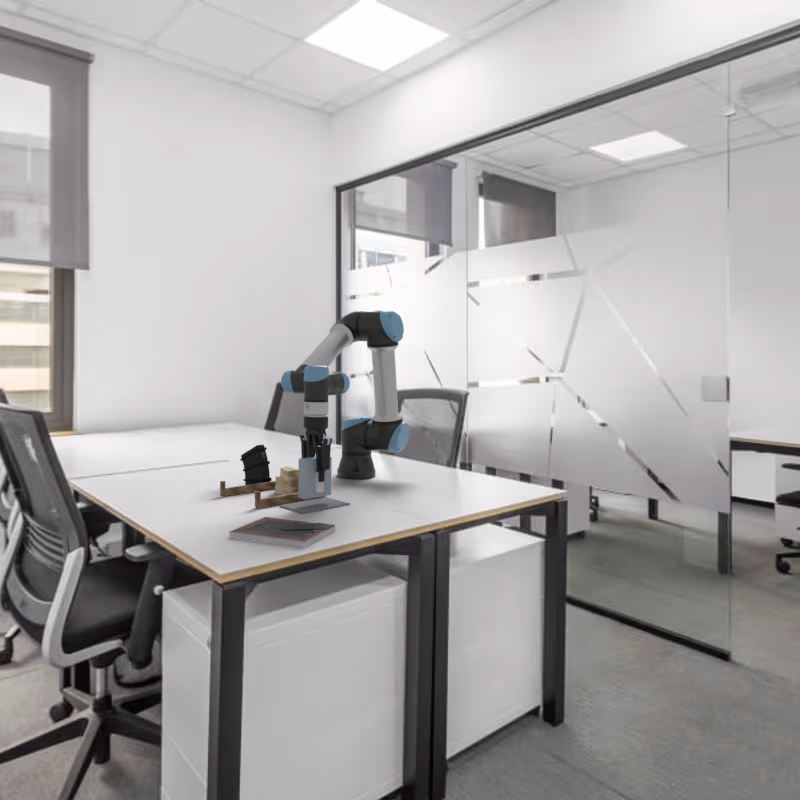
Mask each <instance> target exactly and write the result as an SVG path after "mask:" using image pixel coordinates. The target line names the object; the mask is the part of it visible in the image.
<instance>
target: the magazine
mask: <svg viewBox="0 0 800 800" xmlns="http://www.w3.org/2000/svg"><path fill="white" fill-rule="evenodd" d="M267 449H268V448H267V446H265V445H264V444H257V445H255V446H254V447H252V448H250V449H249V450H247V451H245V452H244V453H243V454H241V455H240V457H241V458H240V459H239V460H240V462H242V463H243V464H242V465H243V469H242V472H244V478H243V482H244V485H250V484H257V483H264V482H271V481H273V479H272V477H271V476H270V475H271V474H270V473H271V472H270V466H269V465H270V464H271V462H270V460H268V455H267V452H266V450H267Z"/></svg>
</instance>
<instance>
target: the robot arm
mask: <svg viewBox="0 0 800 800" xmlns="http://www.w3.org/2000/svg"><path fill="white" fill-rule="evenodd" d="M404 330H405V329H404V323H403V320H402V317H401V315H400V313H398V311H396V310H394V309H387V308H386V309H385V308H382V309H381V308H380V309H358V310H354V311H352V312H349V313H348V314H346V315H343V316H342V317H340V319H338V320H337V321H336V322H335V323H334V324H333V325H332V326H331V327H330V329H329V333H328V334H327V335H326V337H324V339H323V340H322V341H321V342H320V343H319V344H318V345H317V346H316V347H315V349H313V350H312V351H311V352H310V354H309V355H308V356H307V358H305V360H304V361H303V362H301V364H300V365H299V366H297V368H296V369H294V370H293V369H292V370H287V371H284V373H283V374H282V375H281V379H280V381H281V382H280V385H281V387H282V390H283V391H284V392H285V393H287V394H295V395H298V394H299V395H301V394H302V395H304V396H303V415H304V416H303V428H304V429H305V430H306V431H305V433H304V434H300V435H299V439H300V440H299V441H300V443H301V444H300V445H301V447H300V448H301V449H300V450H301V458H308V457H316V462H317V470H315V493H319V492H324V480H325V470H329V469H330V457H331V451H332V450H331V449H332V448H331V447H332V443H333V438H331V437H328V436H327V431H326V430H327V429H328V428H329V417H328V416H327V415H329V396H340V395H343V394H346V393H347V392H348V390H349V389H350V383H351V382H350V378H349V376H348V375H347V374H346V373H345V372H342V371H337V370H336V371H330V370H329V367H330V366H331V364H333V362H334V361H335V360H336V359H337V357H338V356H339V355H340V354H341V353H342V352H343V350H344V349H345V348H348V347H350V346H351V345H352V344H353V343H356V342H366V347H367V348H368V349H369V351H370V352H371V360H372V361H371V362H372V376H373V390H374V391H373V395H374V405H375V407H374V408H375V414H374V415H373V416H371V415H370V416H368V415H367V416H358V417H349V418H345V419H343V420H342V424H341V458H340V460H339V464H338V468H337V470H336V475H337V477H339V478H342V477H343V478H342V479H350V478H358V479H359V478H363V479H370V477H371V478H374V477H376V474H377V473H376V472H377V471H376V468H375V465H374V461H373V458H372V451H374V452H387V453H399V452H402V451H404V449H405V448H406V446H407V443H408V441H409V436H410V427H409V424H408V423H407V422H405V421H403V415H402V414H401V413H400V412H399V405H398V402H399V401H398V388H397V385H398V384H397V372H396V370H397V369H396V352H395V351H396V349H397V348H398V346H399V342H400V341H402V340H403V339H404V332H405V331H404ZM359 480H360V479H359Z"/></svg>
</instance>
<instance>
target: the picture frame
mask: <svg viewBox="0 0 800 800" xmlns="http://www.w3.org/2000/svg"><path fill="white" fill-rule="evenodd" d="M334 532H336V524H333V523H332V524H331V523H325V522H324V523H323V522H310V521H304V520H303V521H301V520H295V519H293V520H292V519H286V518H280V517H279V518H278V517H270V516H269V517H268V516H264V517H261V518H259V519H257V520H255V521H252V522H250V523H247V524H245V525H241V526H240V527H237V528H234V529H232V530H229V532H228V535H229V536H228V538H229V537H232V538H231V539H235V538H239V539H238V540H242V539H247V540H246V541H249V540H255V541H254V542H257V541H261V542H260V543H264V542H268V543H267V544H271V543H273V544H272V545H280V546H286V547H296V548H302V549H306V548H307V547H309V546H311V545H312V544H314V543H316V542H318V541H320V540H322V539H324V538H325V537H327V536H328V535H331V534H333V533H334Z"/></svg>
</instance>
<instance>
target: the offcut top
mask: <svg viewBox="0 0 800 800" xmlns="http://www.w3.org/2000/svg"><path fill="white" fill-rule="evenodd" d="M279 470H280V472H279V474H280V475H279V476H280V477H283V478H285V479H287V480H292V479H299V467H296V466H283V467H280V469H279Z"/></svg>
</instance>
